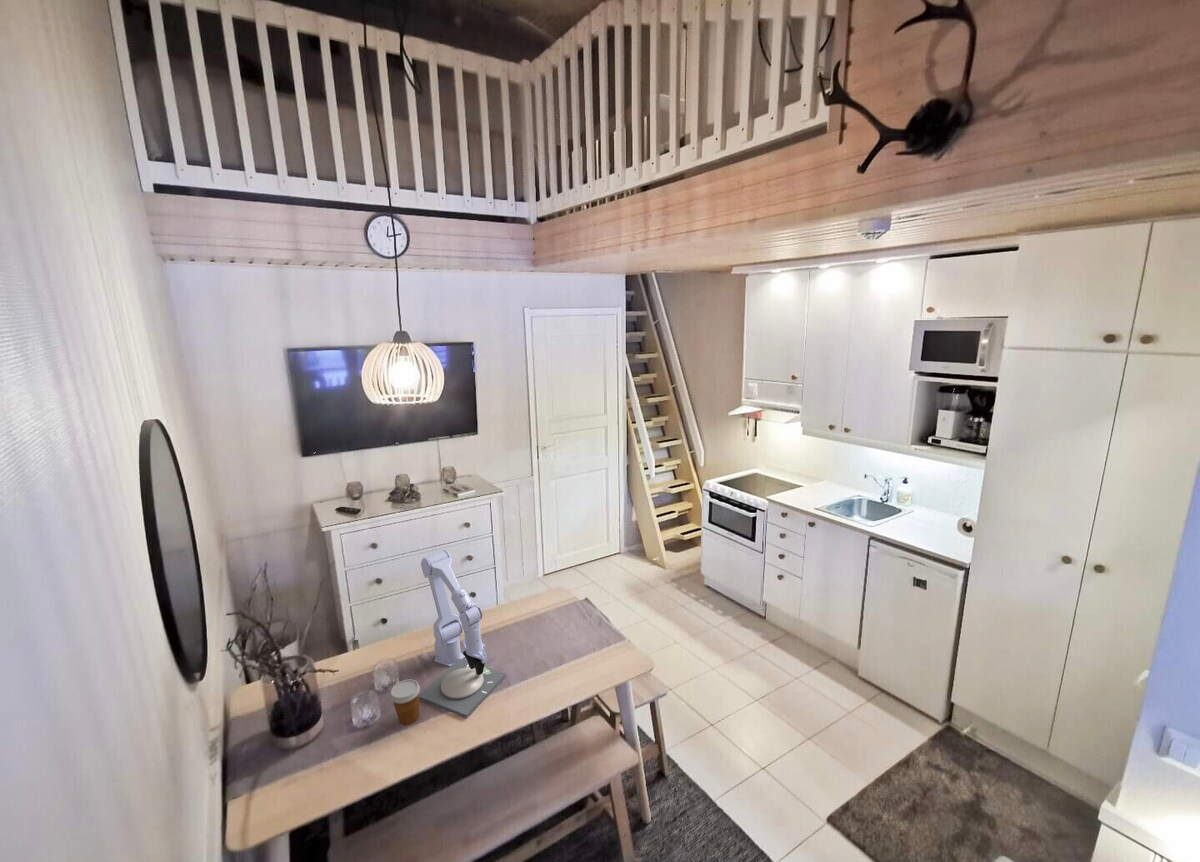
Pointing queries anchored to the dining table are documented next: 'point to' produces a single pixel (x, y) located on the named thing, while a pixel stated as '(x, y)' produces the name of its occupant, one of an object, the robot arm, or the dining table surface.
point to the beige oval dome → (462, 683)
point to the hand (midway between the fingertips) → (476, 670)
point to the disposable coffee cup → (406, 701)
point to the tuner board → (462, 705)
